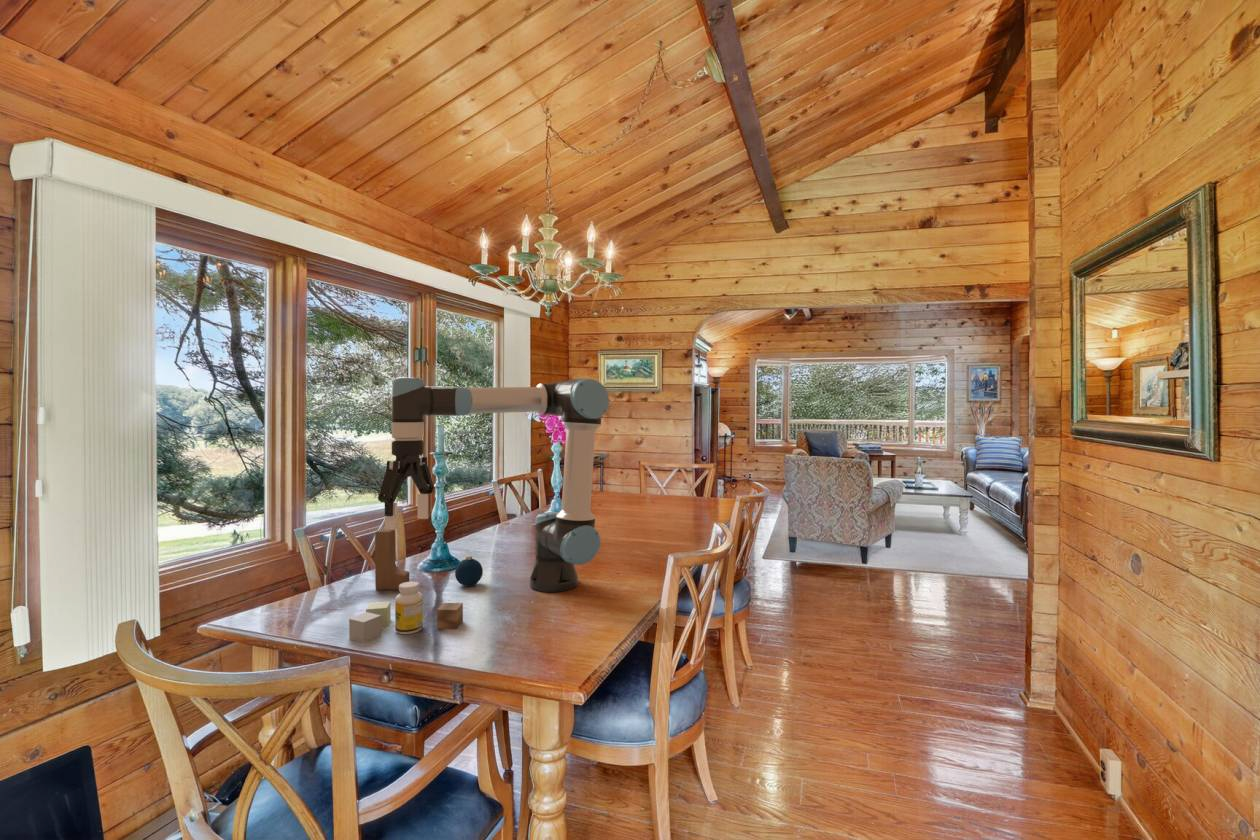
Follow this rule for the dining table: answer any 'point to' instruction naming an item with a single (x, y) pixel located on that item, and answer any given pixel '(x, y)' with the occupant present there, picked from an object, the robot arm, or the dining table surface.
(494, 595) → the dining table surface
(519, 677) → the dining table surface
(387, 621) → the sage cube
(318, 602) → the dining table surface
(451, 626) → the walnut cube
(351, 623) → the taupe cube
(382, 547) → the wooden block
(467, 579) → the christmas ornament
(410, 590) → the pill bottle
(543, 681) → the dining table surface
